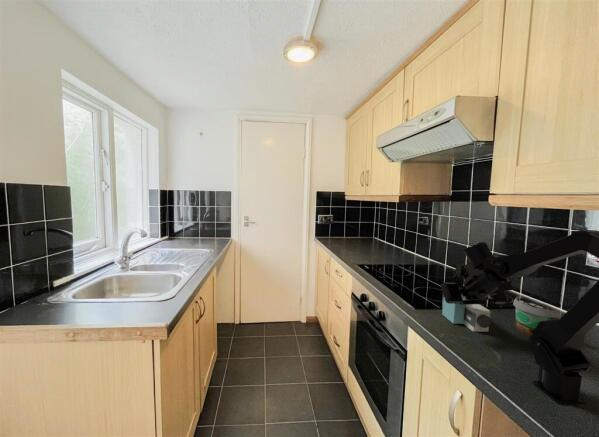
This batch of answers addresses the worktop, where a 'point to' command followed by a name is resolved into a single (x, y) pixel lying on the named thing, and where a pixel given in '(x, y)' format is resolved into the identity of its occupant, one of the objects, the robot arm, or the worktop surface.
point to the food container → (531, 315)
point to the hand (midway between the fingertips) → (460, 303)
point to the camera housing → (477, 318)
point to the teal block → (453, 312)
